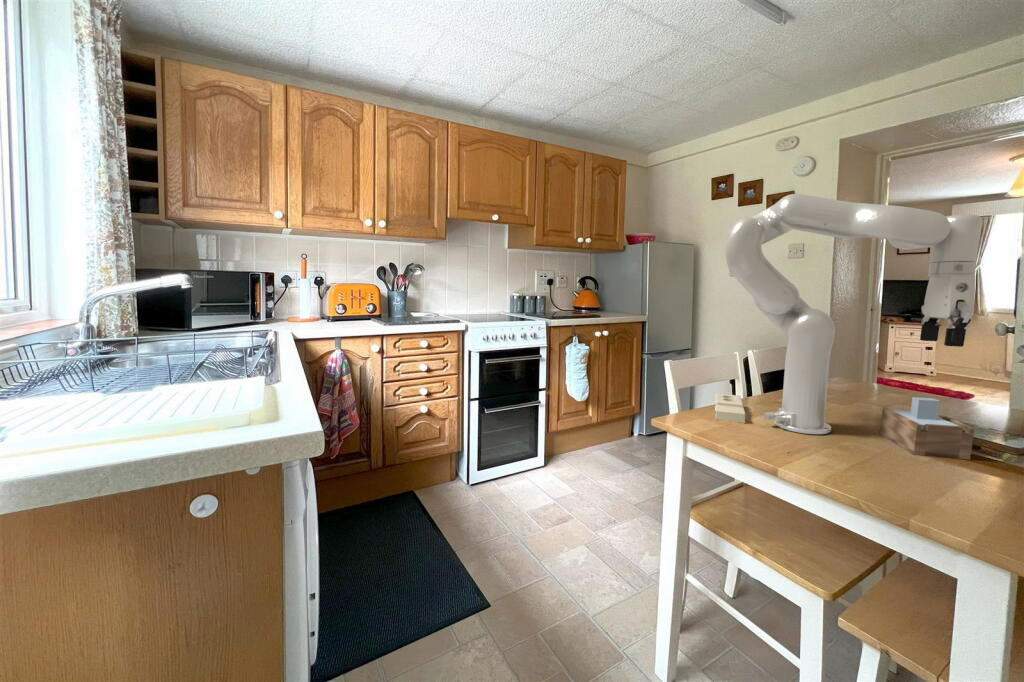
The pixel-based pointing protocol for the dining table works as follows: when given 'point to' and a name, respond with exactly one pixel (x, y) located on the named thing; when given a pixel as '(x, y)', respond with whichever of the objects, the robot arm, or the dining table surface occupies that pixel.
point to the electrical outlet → (729, 407)
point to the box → (928, 436)
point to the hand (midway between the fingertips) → (940, 343)
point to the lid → (924, 412)
